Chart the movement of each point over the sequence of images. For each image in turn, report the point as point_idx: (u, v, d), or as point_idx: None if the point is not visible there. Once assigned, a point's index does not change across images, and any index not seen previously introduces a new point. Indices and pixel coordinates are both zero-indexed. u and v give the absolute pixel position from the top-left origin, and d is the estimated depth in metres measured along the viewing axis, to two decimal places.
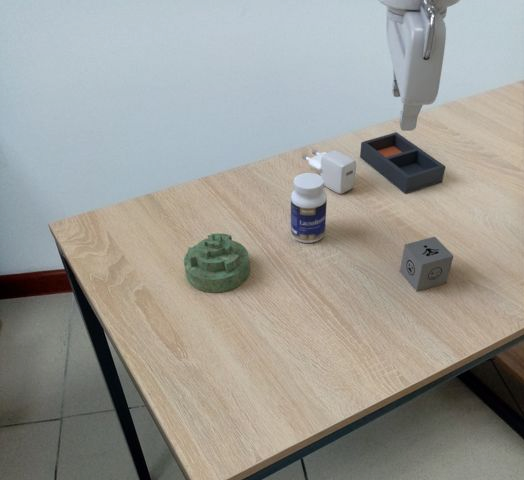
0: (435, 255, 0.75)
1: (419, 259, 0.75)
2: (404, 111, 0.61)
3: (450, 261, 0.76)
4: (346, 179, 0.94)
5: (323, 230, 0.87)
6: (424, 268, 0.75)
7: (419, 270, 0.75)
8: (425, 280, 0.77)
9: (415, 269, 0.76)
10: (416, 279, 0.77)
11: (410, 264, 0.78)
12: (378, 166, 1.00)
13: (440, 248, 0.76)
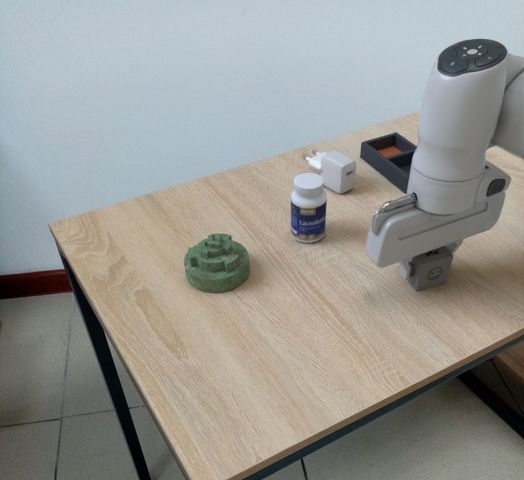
0: (435, 255, 0.75)
1: (419, 259, 0.75)
2: None
3: (450, 261, 0.76)
4: (346, 179, 0.94)
5: (323, 230, 0.87)
6: (424, 268, 0.75)
7: (419, 270, 0.75)
8: (425, 280, 0.77)
9: (415, 269, 0.76)
10: (416, 279, 0.77)
11: None
12: (378, 166, 1.00)
13: (440, 248, 0.76)
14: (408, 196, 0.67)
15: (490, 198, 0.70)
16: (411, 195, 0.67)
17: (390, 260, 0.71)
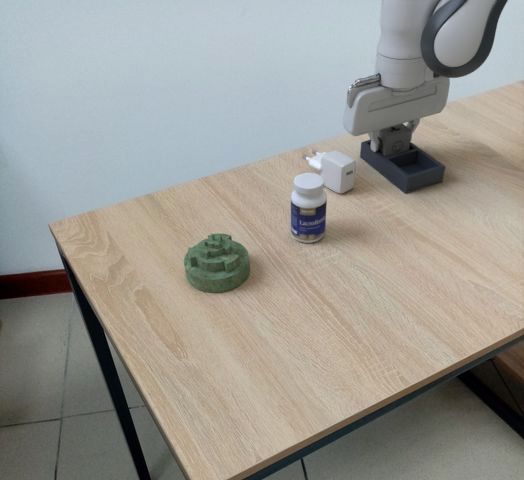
0: (397, 131, 0.98)
1: (385, 133, 0.97)
2: (369, 136, 0.99)
3: (409, 136, 0.98)
4: (346, 179, 0.94)
5: (323, 230, 0.87)
6: (389, 140, 0.97)
7: (385, 142, 0.98)
8: (390, 152, 0.99)
9: None
10: (383, 151, 0.99)
11: None
12: (378, 166, 1.00)
13: (402, 127, 0.99)
14: (374, 75, 0.89)
15: (437, 81, 0.92)
16: (376, 75, 0.90)
17: (362, 129, 0.94)
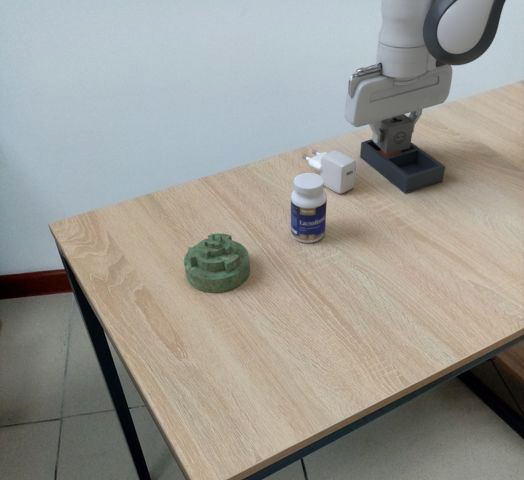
0: (399, 122, 0.96)
1: (387, 124, 0.96)
2: None
3: (411, 127, 0.97)
4: (346, 179, 0.94)
5: (323, 230, 0.87)
6: (391, 131, 0.96)
7: (387, 133, 0.96)
8: (392, 143, 0.98)
9: (384, 134, 0.97)
10: (385, 143, 0.98)
11: None
12: (378, 166, 1.00)
13: (404, 118, 0.97)
14: (375, 65, 0.88)
15: (439, 70, 0.91)
16: (378, 64, 0.88)
17: (363, 120, 0.92)
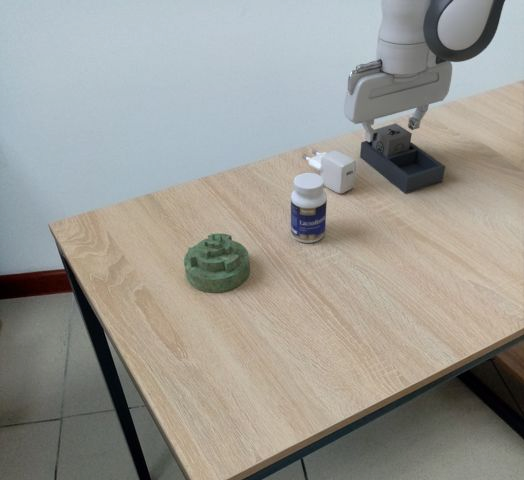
0: (398, 134, 0.98)
1: (387, 137, 0.98)
2: (363, 126, 0.97)
3: (409, 138, 0.99)
4: (346, 179, 0.94)
5: (323, 230, 0.87)
6: (391, 144, 0.98)
7: (387, 146, 0.98)
8: None
9: (384, 147, 0.99)
10: (385, 155, 1.00)
11: (379, 144, 1.00)
12: (378, 166, 1.00)
13: (401, 130, 0.99)
14: (375, 61, 0.88)
15: (439, 67, 0.91)
16: (377, 60, 0.88)
17: (363, 117, 0.92)
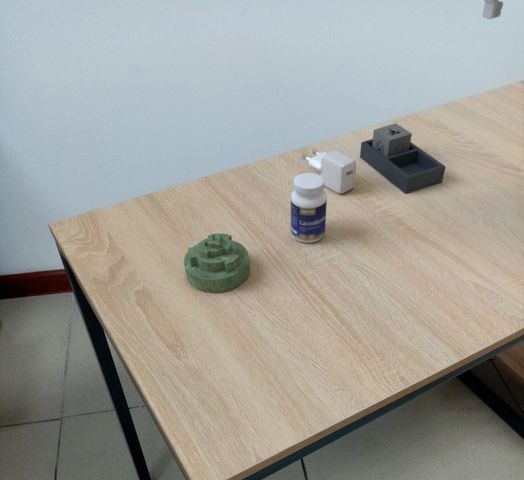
0: (398, 134, 0.98)
1: (387, 137, 0.98)
2: None
3: (409, 138, 0.99)
4: (346, 179, 0.94)
5: (323, 230, 0.87)
6: (391, 144, 0.98)
7: (387, 146, 0.98)
8: None
9: (384, 147, 0.99)
10: (385, 155, 1.00)
11: (379, 144, 1.00)
12: (378, 166, 1.00)
13: (401, 130, 0.99)
14: None
15: None
16: None
17: None
